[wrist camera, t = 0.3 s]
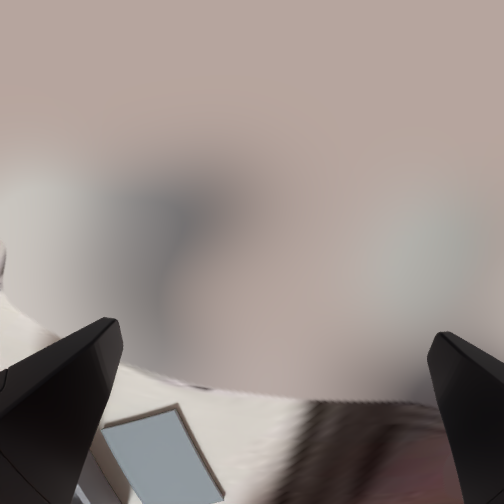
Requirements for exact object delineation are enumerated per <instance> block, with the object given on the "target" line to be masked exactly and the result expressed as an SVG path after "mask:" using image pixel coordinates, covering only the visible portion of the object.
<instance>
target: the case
mask: <svg viewBox="0 0 504 504" xmlns="http://www.w3.org/2000/svg"><path fill="white" fill-rule="evenodd" d="M71 504H122V503H121V502H120V500H119V499H118V497H117V496H116V494H115V493H114V491H113V489H112V488H111V486H110V485H109V483H108V481H107V480H106V478H105V476H104V475H103V473H102V471H101V469H100V468H99V466H98V464H97V462H96V460H95V459H94V457H93V455H92V453H91V451H90V449H89V452H88V455H87V457H86V460H85V463H84V466H83V469H82V472H81V475H80V478H79V481H78V484H77V487H76V490H75V493H74V496H73V499H72V502H71Z"/></svg>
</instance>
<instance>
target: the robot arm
mask: <svg viewBox="0 0 504 504" xmlns="http://www.w3.org/2000/svg"><path fill="white" fill-rule="evenodd" d="M122 351H123V340H122V335H121V331H120V326H119V322H118V320H116V319H114V318H107V317H103V318H101V319H99V320H97V321H95V322H93V323H92V324H90V325H88V326H86V327H84V328H82V329H80V330H78V331H76V332H74V333H72V334H71V335H69V336H67V337H65V338H63V339H61V340H59V341H57V342H55V343H53V344H52V345H50V346H48V347H46V348H44V349H42V350H40V351H38V352H36V353H35V354H33V355H31V356H29V357H27V358H25V359H23V360H21V361H20V362H18V363H16V364H14V365H12V366H10V367H9V368H8V369H4V370H3V371H1V372H0V504H71V502H72V499H73V496H74V493H75V490H76V487H77V484H78V481H79V478H80V475H81V472H82V469H83V466H84V463H85V460H86V457H87V455H88V452H89V449H90V446H91V443H92V441H93V438H94V435H95V433H96V430H97V427H98V425H99V422H100V420H101V417H102V414H103V412H104V409H105V407H106V404H107V402H108V399H109V396H110V393H111V390H112V387H113V383H114V379H115V376H116V372H117V369H118V365H119V362H120V358H121V355H122ZM427 362H428V366H429V370H430V374H431V379H432V383H433V387H434V392H435V396H436V400H437V404H438V407H439V411H440V414H441V417H442V420H443V423H444V427H445V430H446V433H447V437H448V440H449V444H450V447H451V451H452V454H453V458H454V462H455V466H456V470H457V474H458V478H459V482H460V487H461V491H462V495H463V501H464V504H504V363H503V362H501V361H499V360H497V359H496V358H494V357H493V356H491V355H489V354H488V353H486V352H484V351H482V350H481V349H479V348H477V347H476V346H474V345H472V344H470V343H468V342H467V341H465V340H464V339H462V338H460V337H458V336H457V335H455V334H453V333H451V332H439V333H437V334H436V336H435V338H434V340H433V343H432V345H431V348H430V350H429V352H428V356H427Z"/></svg>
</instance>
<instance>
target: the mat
mask: <svg viewBox="0 0 504 504" xmlns="http://www.w3.org/2000/svg"><path fill="white" fill-rule="evenodd" d="M101 432H102V434H103V436H104V438H105V440H106V442H107V444H108V446H109V448H110V449H111V451H112V453H113V455H114V457H115V459H116V461H117V462H118V464H119V466H120V468H121V469H122V471H123V473H124V474H125V476H126V478H127V480H128V481H129V483H130V484H131V486H132V488H133V489H134V491H135V492H136V494H137V496H138V497H139V499H140V500H141V502H142V503H143V504H212V503H217V502H221V501H224V497H223V495H222V494H221V492H220V490H219V489H218V487H217V485H216V484H215V482H214V480H213V478H212V477H211V475H210V473H209V471H208V470H207V468H206V466H205V464H204V462H203V461H202V459H201V457H200V455H199V453H198V451H197V450H196V448H195V446H194V444H193V442H192V440H191V438H190V436H189V434H188V432H187V430H186V428H185V426H184V424H183V422H182V420H181V418H180V416H179V414H178V412H177V410H176V409H173V410H170V411H167V412H163V413H160V414H157V415H153V416H150V417H146V418H143V419H139V420H135V421H131V422H128V423H124V424H120V425H116V426H112V427H107V428H103V429H102V430H101Z"/></svg>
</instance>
